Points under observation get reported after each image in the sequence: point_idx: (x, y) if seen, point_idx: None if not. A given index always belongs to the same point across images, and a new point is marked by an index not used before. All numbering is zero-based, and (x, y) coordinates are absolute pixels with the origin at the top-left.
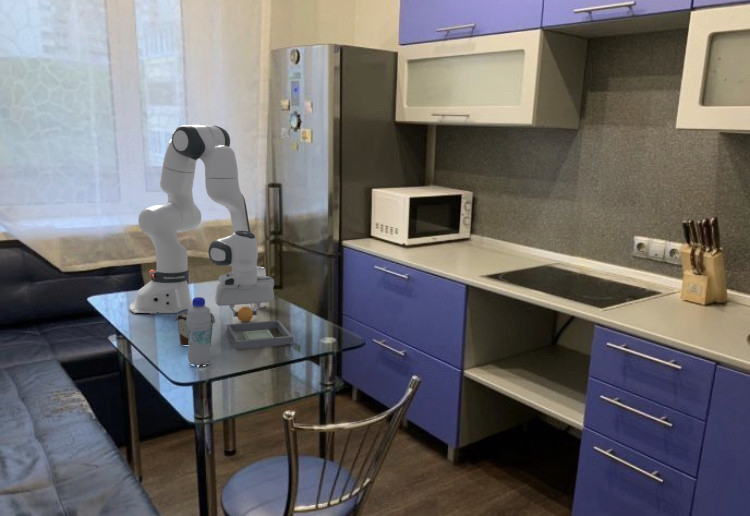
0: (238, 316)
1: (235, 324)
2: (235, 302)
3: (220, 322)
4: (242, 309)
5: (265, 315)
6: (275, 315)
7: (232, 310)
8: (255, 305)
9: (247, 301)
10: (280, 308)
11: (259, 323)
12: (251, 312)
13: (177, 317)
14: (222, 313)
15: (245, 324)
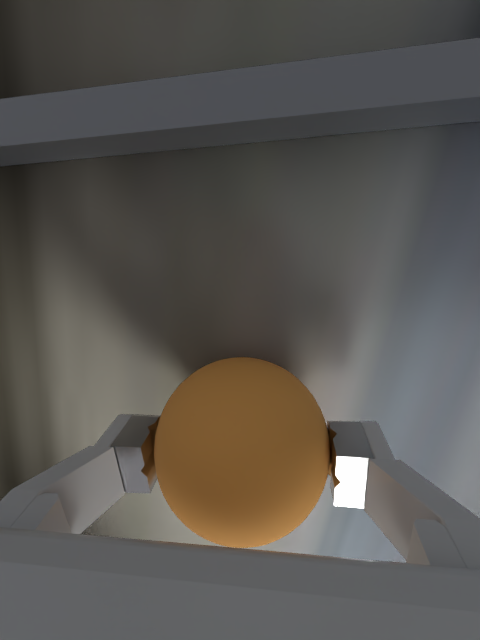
0: (320, 411)
1: (466, 54)
2: (463, 622)
3: (462, 433)
4: (273, 471)
5: None
6: (19, 465)
7: (422, 482)
8: None
9: (159, 594)
10: None
11: (99, 90)
12: (166, 418)
13: None
14: None
15: (299, 63)
